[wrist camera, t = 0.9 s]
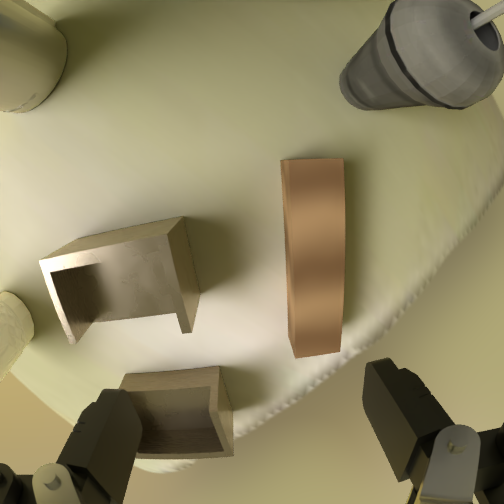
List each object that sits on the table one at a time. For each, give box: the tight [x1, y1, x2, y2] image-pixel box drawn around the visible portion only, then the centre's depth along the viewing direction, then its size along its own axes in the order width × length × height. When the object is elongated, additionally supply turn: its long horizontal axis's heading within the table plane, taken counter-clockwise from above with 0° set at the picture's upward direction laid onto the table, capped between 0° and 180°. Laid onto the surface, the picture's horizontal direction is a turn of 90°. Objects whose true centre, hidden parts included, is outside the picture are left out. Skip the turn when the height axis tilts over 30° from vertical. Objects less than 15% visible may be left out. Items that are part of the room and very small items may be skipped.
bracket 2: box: [119, 366, 234, 459], centre depth 27 cm, size 7×10×6 cm
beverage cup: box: [339, 0, 504, 110], centre depth 13 cm, size 7×7×20 cm
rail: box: [280, 158, 345, 358], centre depth 24 cm, size 16×4×4 cm, turn 4°
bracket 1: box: [39, 216, 201, 344], centre depth 22 cm, size 7×10×6 cm
